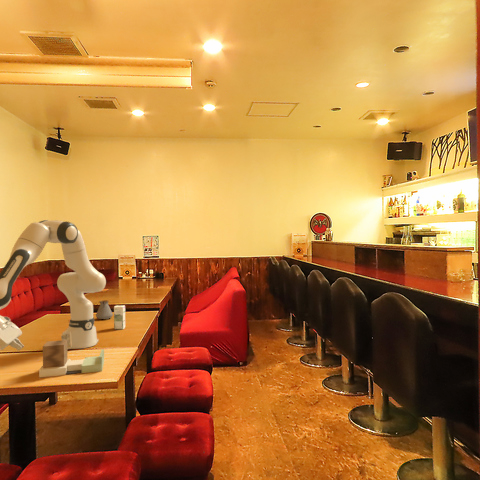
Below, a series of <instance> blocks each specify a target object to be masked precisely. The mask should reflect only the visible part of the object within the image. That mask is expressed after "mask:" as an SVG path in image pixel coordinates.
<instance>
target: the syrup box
mask: <svg viewBox="0 0 480 480" xmlns="http://www.w3.org/2000/svg"><path fill="white" fill-rule="evenodd" d="M113 325H114V326H113V330H124V329H125V328H126V304H125V305H118V304H117V305H114V306H113Z"/></svg>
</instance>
